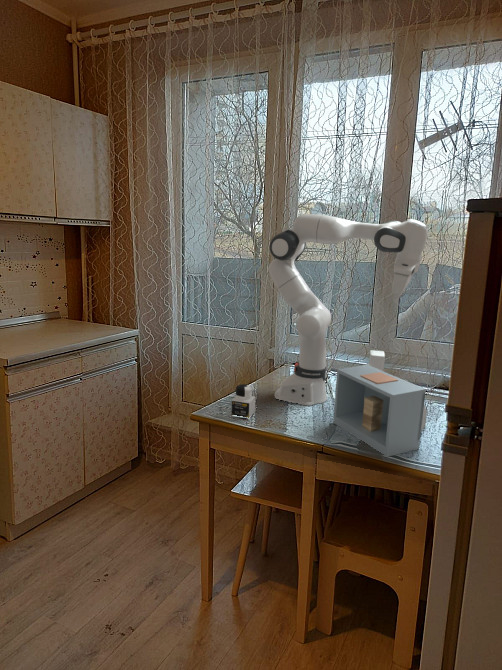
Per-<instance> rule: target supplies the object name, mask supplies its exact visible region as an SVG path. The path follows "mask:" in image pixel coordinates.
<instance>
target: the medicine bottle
mask: <svg viewBox="0 0 502 670" xmlns="http://www.w3.org/2000/svg"><path fill="white" fill-rule="evenodd" d="M252 391H253V387H252V386H251V385H249V384H245V383H243V384H239V385H236V387H235V396H234V397H233V398H232V399H231V416H232V415H237V416H243V417H248V418H249V417H250V416H251V415H252V414H253V413H254V412H255V413H256V396H255V395H252V394H253V393H252ZM255 413H254V414H255Z"/></svg>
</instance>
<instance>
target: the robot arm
mask: <svg viewBox="0 0 502 670" xmlns="http://www.w3.org/2000/svg"><path fill="white" fill-rule="evenodd" d="M428 231H429V229H428V226H427V225H426V224H425V223H424V222H422V221H419V220H417V219H414V218H413V219H412V218H411V219H410V218H409V219H407V220H404V221H403V222H401V221H398V220H390V221H385V222H384V223H383V222H381V223H372V222H362V221H354V220H353V221H352V220H349V219H345V218H341V217H337V216H332V215H328V214H321V213H305V214H299V215H298V216H297V217H296V218H295V220H294V222H293V225H292V229H286V230H284V231H282V232H279V233H277V234H276V235H275V236H273V237H272V239H271V240H270V243H269V246H268V247H269V252H270V254H271V256H272V257H273V258H274V259H273V260H272V261H271V262H270V263H269V265H268V268H267V269H268V274H269V276H270V278H271V279H272V280H271V281H272V282H273V284H274V285H275V287H276V288H277V290H278V292H279V294H280V296H282V298H283V300H284V302H285V303H286V304H287V305H288V306H289V307H290V308H292V310H293V311H294V312H296V313H297V315H298V316H299V317H298V320H297V322H296V329H297V334H298V342H299V361H298V362H296V363H295V364H294V366H293V367H294V368H293V373H292V374H290V375H289V376H287V377H286V378H284V379H283V380H282V382H281V384H280V387H279V388H278V389H276V391H275V392H274V396H275V397H274V399H275V398H276V399H279V400H278V401H280V400H284V401H283V402H285V401H288V402H287V403H291V402H292V403H293V404H296V403H298V404H297V405H301V406H302V405H303V406H308V407H309V406H313V405H316V404H323V403H325V402H327V400H328V396H327V395H328V394H327V390H326V379H327V373H328V372H327V370H328V369H327V366H326V363H327V362H326V361H327V350H328V349H327V345H326V330H327V329H328V327H330V325H331V321H332V313H331V311H330V310H329V309H328V308H327V307H326V306H325V305H324V303H322V301H321V300H320V299H319V298H318V297H317V296H316V295H315V293H313V291H312V290H311V288H310V287H309V285H308V284H307V283H306V281H305V279H304V278H303V276H302V275H301V273H300V272H299V270H298V269H297V267H296V265H295V262H296V261H298V259H299V258H300V257H301V256H302V254H303V253H304V252H305V250H306V246H307V243H315V244H321V245H336V244H337V245H338V244H340V243H341V242H345V241H347V240H351V239H359V240H360V239H363V240H370V241H371V240H372V241H373V243H374V246H375V248H376V249H377V250H378V251H380V252H383V253H396V257H395V261H394V265H393V273H394V274H393V279H392V286H391V294H393V301H392V303H394V304H398V303H399V302H400V301H399V300H400V297H403V295H404V292H405V290H406V288H407V287H408V285H409V284H410V283H411V280H412V276H414V274H415V273H418V272H419V268H420V266H421V261H422V253H423V251H424V249H425V247H426V243H427V239H428V233H429V232H428ZM276 399H275V400H276ZM292 403H291V404H292Z"/></svg>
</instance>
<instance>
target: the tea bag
mask: <svg viewBox="0 0 502 670" xmlns="http://www.w3.org/2000/svg"><path fill="white" fill-rule="evenodd" d="M427 415H428V410H427V408H426V405H425V404H424V410H423V419H422V427H421V432H422V431H423V430H424V429H425V427H426V422H427Z"/></svg>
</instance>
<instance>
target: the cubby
mask: <svg viewBox="0 0 502 670" xmlns="http://www.w3.org/2000/svg"><path fill="white" fill-rule="evenodd" d="M335 380H336V381H335V397H334V411H333V424H335V426H338V427H339V428H341V429H342V428H343V429H342V430H344V431H345V430H346V432H347V431H348V432H347V433H349V434H350V433H351V434H350V435H352V436H353V435H354V436H353V437H354V438H356V437H357V439H358V438H359V439H358V440H360V441H361V440H362V441H361V442H363V441H364V442H365V444H366V443H367V444H368V446H369V445H370V446H369V447H371V446H372V447H373V448H372V447H371V448H372V449H374V450H375V449H376V450H375V451H377V452H378V451H379V452H378V453H380V452H381V453H380V454H382V455H383V454H384V455H383V456H385V457H386V458H389V457H392V456H395V455H400V454H405V453H407V452H412V451H416V450H419V449H420V443H421V436H422V435H421V434H422V431H421V427H422V419H423V410H424V405H425V400H426V399H425V398H426V393H427V392H426V391H427V389H426V388H424V387H422V386H419V385H417V384H414V383H412V382H410V381H407V380H405V379H402V378H400V377H398V376H395V375H392V374H390V373H388V372H386V371H384V370H383V371H381V370H379V369H376V368H374V367H371V366H369V364H362V365H357V366H349V367H342V368H337V369H336V379H335ZM371 396H376V397H378V398H380V399H382V400H383V410H382V421H381V430H376V431H372V432H370V431H369V430H367V429H365V428H364V427H362V423H363V411H364V400H365V397H371ZM364 442H363V443H364ZM367 444H366V445H367ZM388 456H389V457H388Z"/></svg>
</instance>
